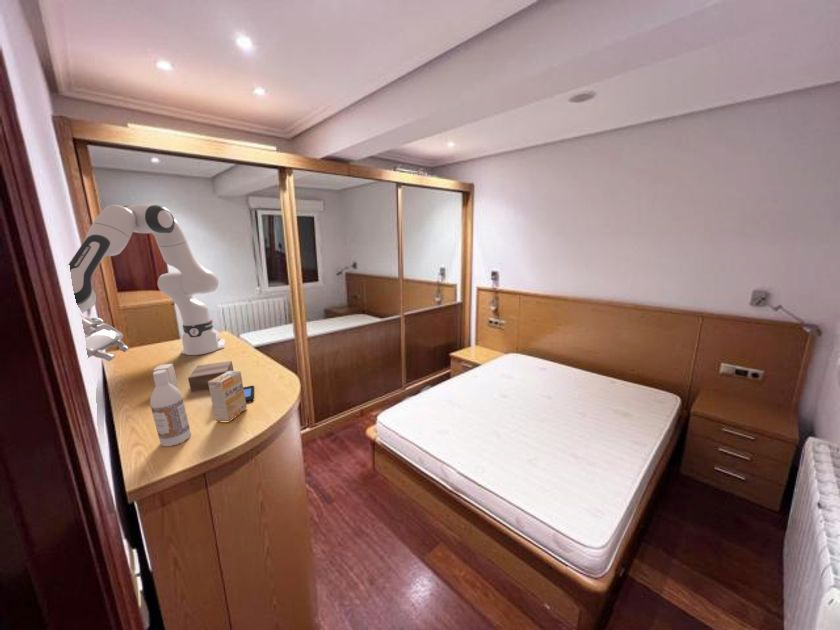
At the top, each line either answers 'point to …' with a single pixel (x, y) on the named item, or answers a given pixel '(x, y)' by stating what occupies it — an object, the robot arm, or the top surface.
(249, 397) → the handheld game console
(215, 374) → the walnut block
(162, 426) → the bath foam
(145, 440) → the top surface
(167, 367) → the cream block
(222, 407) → the supplement box
